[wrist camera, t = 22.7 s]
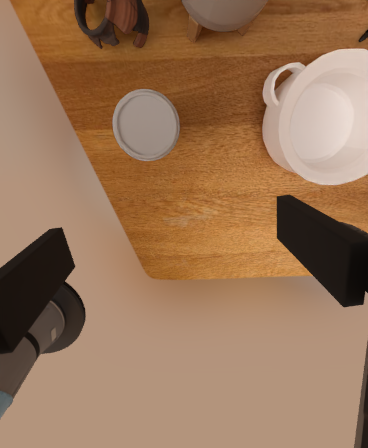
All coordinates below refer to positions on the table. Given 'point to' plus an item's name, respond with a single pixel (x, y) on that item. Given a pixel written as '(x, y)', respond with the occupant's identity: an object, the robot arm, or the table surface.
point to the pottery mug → (115, 21)
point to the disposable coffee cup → (146, 124)
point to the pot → (320, 117)
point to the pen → (364, 36)
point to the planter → (221, 15)
